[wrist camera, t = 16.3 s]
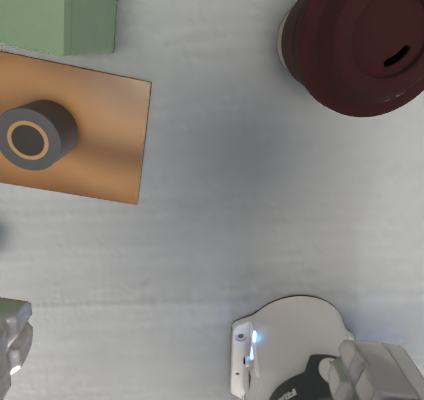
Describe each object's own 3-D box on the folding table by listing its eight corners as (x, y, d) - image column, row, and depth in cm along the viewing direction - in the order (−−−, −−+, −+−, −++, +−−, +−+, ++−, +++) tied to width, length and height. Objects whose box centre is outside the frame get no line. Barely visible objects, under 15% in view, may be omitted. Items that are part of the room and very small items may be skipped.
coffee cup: (261, -15, 30) (310, -64, 17) (369, -25, 30) (505, -82, 17) (263, 96, 35) (303, 129, 21) (357, 88, 35) (458, 115, 21)
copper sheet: (137, 203, 39) (136, 204, 39) (-41, 174, 37) (-43, 175, 37) (151, 82, 34) (151, 82, 33) (-58, 39, 32) (-61, 39, 31)
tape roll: (77, 160, 37) (60, 176, 32) (21, 150, 36) (-5, 165, 32) (79, 106, 34) (61, 115, 30) (18, 94, 33) (-9, 101, 29)
